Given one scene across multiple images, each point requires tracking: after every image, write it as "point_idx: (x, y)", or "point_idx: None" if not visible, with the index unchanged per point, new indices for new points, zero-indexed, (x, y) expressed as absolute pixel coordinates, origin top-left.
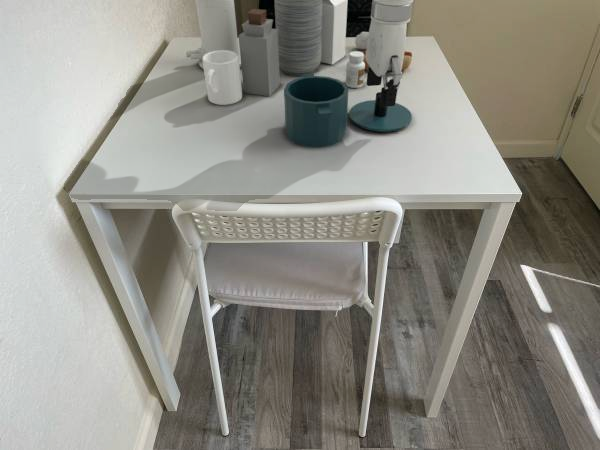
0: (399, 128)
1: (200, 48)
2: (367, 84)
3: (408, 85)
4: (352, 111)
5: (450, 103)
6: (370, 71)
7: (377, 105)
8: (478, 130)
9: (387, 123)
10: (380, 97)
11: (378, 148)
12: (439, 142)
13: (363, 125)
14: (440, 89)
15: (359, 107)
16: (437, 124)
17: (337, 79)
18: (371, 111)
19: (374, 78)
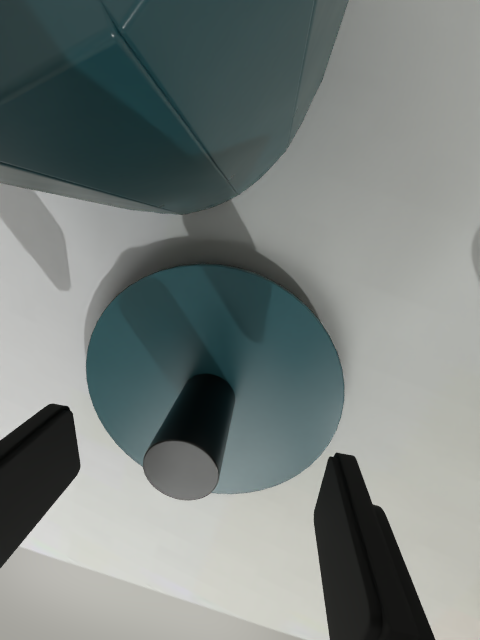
0: (98, 410)
1: None
2: (338, 459)
3: (425, 573)
4: (266, 295)
5: (250, 595)
6: (362, 592)
7: (178, 406)
8: (95, 568)
9: (130, 388)
10: (15, 441)
11: (7, 292)
12: None
13: (126, 293)
14: None
15: (294, 342)
16: (138, 513)
17: (121, 5)
18: (240, 374)
19: (332, 537)
